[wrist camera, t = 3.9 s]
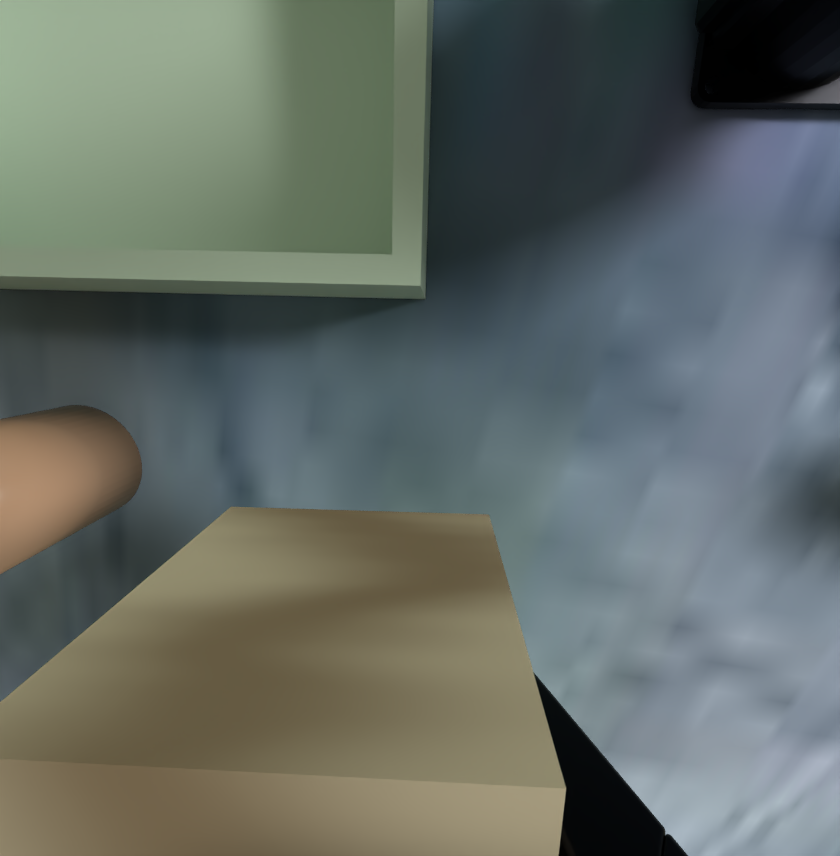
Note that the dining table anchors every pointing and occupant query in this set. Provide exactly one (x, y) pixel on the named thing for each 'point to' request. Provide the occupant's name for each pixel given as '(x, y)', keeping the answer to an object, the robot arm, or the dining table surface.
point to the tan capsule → (60, 476)
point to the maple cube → (292, 702)
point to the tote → (216, 146)
